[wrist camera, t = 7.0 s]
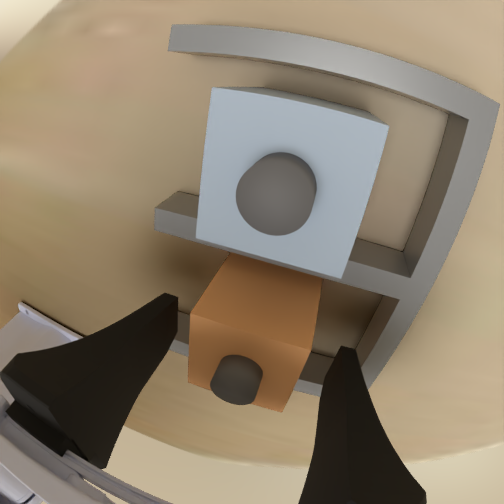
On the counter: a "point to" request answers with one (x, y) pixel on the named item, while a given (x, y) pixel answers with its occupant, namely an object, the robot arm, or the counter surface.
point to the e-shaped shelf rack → (363, 252)
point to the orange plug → (253, 331)
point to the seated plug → (287, 176)
